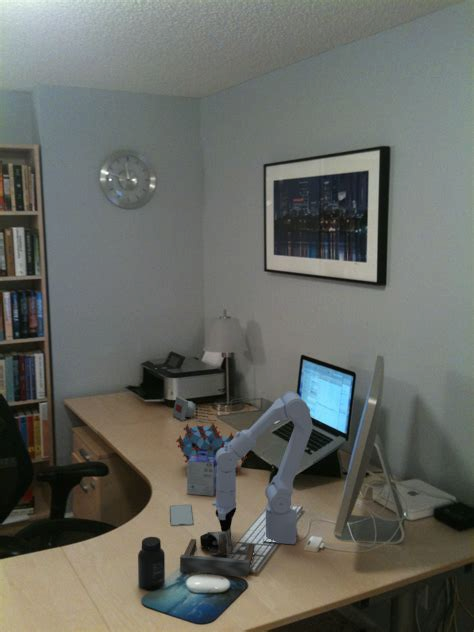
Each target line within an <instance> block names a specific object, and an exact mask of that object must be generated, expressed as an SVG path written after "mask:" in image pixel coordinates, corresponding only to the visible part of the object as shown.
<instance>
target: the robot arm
mask: <svg viewBox="0 0 474 632" xmlns="http://www.w3.org/2000/svg"><path fill="white" fill-rule="evenodd" d="M287 417H288V418H289V419H290V420H291V422H292V424H293V425H294V427H293V430H292V433H291V436H290V438H289V441H288V443H287V447H286V448H285V451H284V455H283V457H282V460H281V462H280V465H279V468H278V471H277V473H276V475H274V476H273V477H272V480H271V482H270V483H269V484H268V485H267V486H266V488H265V492H264V495H265V497H266V499H267V500H268V502H267V504H266V506H265V529H266V537H267V538H268V539H271V540H274V541H276V542H277V543H276V544H283V545H284V544H285V545H296V540H297V535H298V528H297V525H298V524H297V522H298V521H297V520H298V518H297V517H298V512H297V511H298V510H297V509H293V508H291V507H292V495H293V485H294V484H293V482H294V480H295V477H296V475H297V472H298V469H299V467H300V464H301V462H302V458H303V455H304V454H305V451H306V447H307V445H308V442H309V439H310V437H311V434H312V431H313V428H314V425H313V422H312V416H311V409H310V407H309V406H308V405H307V403H306V402H305V401H304V399H302V397H301V396H300V394H298V393H297V392H296V391H292V390H288V391H286V392H284V393H283V394H282V395H281V397H279V398H277V399H276V400H275V401H274V402H273V403H272V405H271V406H270V407H269V408H268V409H267V410H266V411H265V412H264V413H263V414H262V415H261V416H260V417H259V418H258V419H257V420H256V421H255V422H254V424H253V425H251V427H250V428H249V429H242V430H241V431H237V432H236V433H235V436H236V437H235V436H233V437H234V438H233V439H232V440H231V441H230V442H229V443H228V444H225V445H224V448H220V449H219V450H218V451H217V453H216V455H215V459H216V461H217V473H216V493H215V494H216V495H215V497H216V500H213V501H212V503H211V505H212V506H214V507H215V508H216V510H215V516H216V517H217V520H218V522H219V525H220V532H221V531H228V530H229V529H230V528H231V529H232V522H233V518H234V516H235V513H236V512H237V501H236V498H237V497H236V496H237V495H236V493H237V489H236V486H237V485H236V484H237V483H236V482H237V480H236V477H237V473H235V468H237V467H238V462H239V460H241V458H242V457H243V456H244V457H245V455H247V454H248V453H249V451H250V450H252V449H253V448H254V447H255V446H256V445H257V439H258V437H260V436H261V435H262V434H263V433H265V431H268V429H269V428H270V427H271V426H272V425H275V423H276V422H281V421H282V422H283V421H285V422H287V421H288V418H287Z"/></svg>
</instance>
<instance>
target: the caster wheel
mask: <svg viewBox="0 0 474 632" xmlns="http://www.w3.org/2000/svg"><path fill="white" fill-rule="evenodd" d="M232 535H233V534H232V527H231V528H230V529H229V530H228V531H221V530H220V531H207V533H204V534H202V535H200V537H199V542H200V547H202V548H207V549H208V552H209V555H211V556H215V555H216V556H218V555H219V556H220V555H226V556H227V557H226V558H228V557H230V555H231V554H232V553H233V552H234V549H233V538H232ZM232 551H233V552H232Z"/></svg>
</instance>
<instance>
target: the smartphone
mask: <svg viewBox="0 0 474 632" xmlns="http://www.w3.org/2000/svg"><path fill="white" fill-rule="evenodd" d="M194 521H195V520H194V513H193V505H192V504H178V505H177V504H175V505H174V504H173V505H169V522H170V523H169V524H170V526H171V527H185V526H186V527H187V526H189V527H191V526H194V524H195V523H194Z"/></svg>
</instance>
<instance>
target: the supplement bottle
mask: <svg viewBox="0 0 474 632" xmlns="http://www.w3.org/2000/svg"><path fill="white" fill-rule="evenodd" d="M161 543H162V542H161V539H160V538H159V537H157V536H148V537H144V538H143V539H142V541H141V549H140V550H139V552H138V553H137V570H138V571H137V572H138V573H137V574H138V575H137V576H138V577H137V578H138V583H137V584H138V586H139V588H140V589H141V590H143V591H146V592H154V591H159V590H160V589H162V588H164V586H165V584H166V572H165V571H166V570H165V569H166V568H165V567H166V561H165V560H166V558H165V557H166V556H165V555H166V554H165V551H164V550H163V549H162V548H161V547H162V546H161V545H162V544H161Z"/></svg>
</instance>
